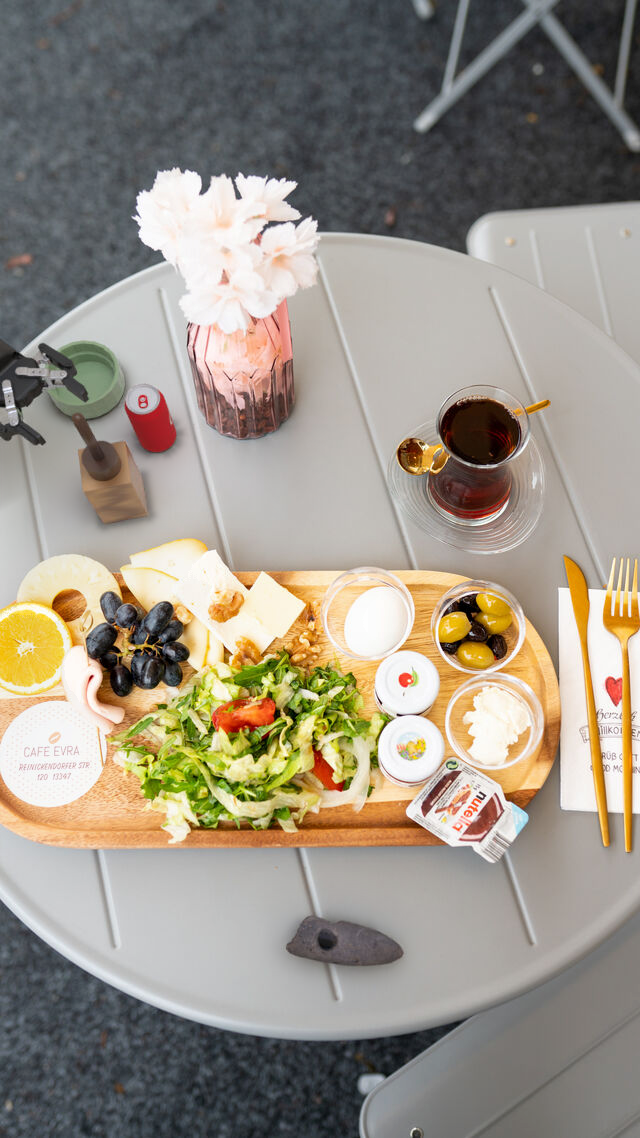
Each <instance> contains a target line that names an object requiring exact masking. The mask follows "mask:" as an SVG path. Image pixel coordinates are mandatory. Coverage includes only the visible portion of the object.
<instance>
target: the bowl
mask: <svg viewBox="0 0 640 1138" xmlns="http://www.w3.org/2000/svg"><path fill="white" fill-rule="evenodd" d="M56 351H58V352H59V353H61V354H63V355H64V356H66V357H67V358H69V359H71V360H72V362H73V364H74V366H75V368H76V370H77V375H76V376H74V377H73V378H74V379H75V380H77V381H78V382H80V383H81V384H82V385H84V387H85V388H86V390H87V392H88V395H87V396H88V398H89V400H88V401H87V402H86V403H85V402H83V401H82V400H81V399H79V398H78V397H77V396H75V395H74V394H72V393H71V392H70V391H68V390H67V388H66V387H56V388H55V389H46V391H47V393H48V394H49V396H50V398H51V400H52V401H53V403H54V405H55V406H56V408H57V409H59V411H61V412H62V413H63V414H64V415H67V416H69V417H71V418H72V415H73V414H74V413H81V414H83V416H84V417H85V419H86V420H88V419H95V418H98V417H101V416H103V415H105V414H107V413H109V412H110V411H111V410H112V409H113V408H115V407H116V406H117V405H118V404H119V402H120V401H121V399H122V397H123V395H124V391H125V387H126V382H125V381H126V380H125V375H124V372H123V370H122V368H121V365H120V362H119V360H118V359H117V357H116V355H115V353H114V352H113V351H112V350H111V349H110V348H109V347H107V346H106V345H105V344H102V343H100V342H97V341H94V340H77V341H72V342H68V343H67V344H65V345H63V346H60V347H59V348H58V349H57V350H56ZM44 368H48V369H50V370H61V369H59V368H58V367H56V366H54V365H53V364H51V365H48V364H44ZM42 380H45V379H44V378H42Z"/></svg>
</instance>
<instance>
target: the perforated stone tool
mask: <svg viewBox="0 0 640 1138" xmlns="http://www.w3.org/2000/svg"><path fill="white" fill-rule="evenodd" d="M285 945H286V946H285V949H286V950H287V952H288V953H289V954H290V955H293V956H296V957H299V958H303V959H307V960H312V961H315V962H321V963H325V964H332V965H339V966H347V967H350V966H351V967H372V966H383V965H388V964H392V963H395V962H396V961H398V960H400V959H402V958H403V957H404V954H405V953H404V950H403V947H402V946H401V945H400V944H399V943H398V942H397V941H395V940H394V939H393V938H392V937H390V936H388V935H387V934H385V933H382V932H381V931H379V930H376V929H374V928H371V927H368V926H365V925H362V924H358V923H354V922H352V921H351V922H350V921H346V920H339V921H337V922H336V923H333V922H330V921H329V920H327V919H324V918H323V917H320V916H317V915H308V916H306V917H305V918H304V919H303V920H302V922H301V923H299V926H298V927H297V930H296V932H295V935H294V936H293V938H292V939H291V940H290V941H289V942H287V943H286V944H285Z"/></svg>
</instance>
